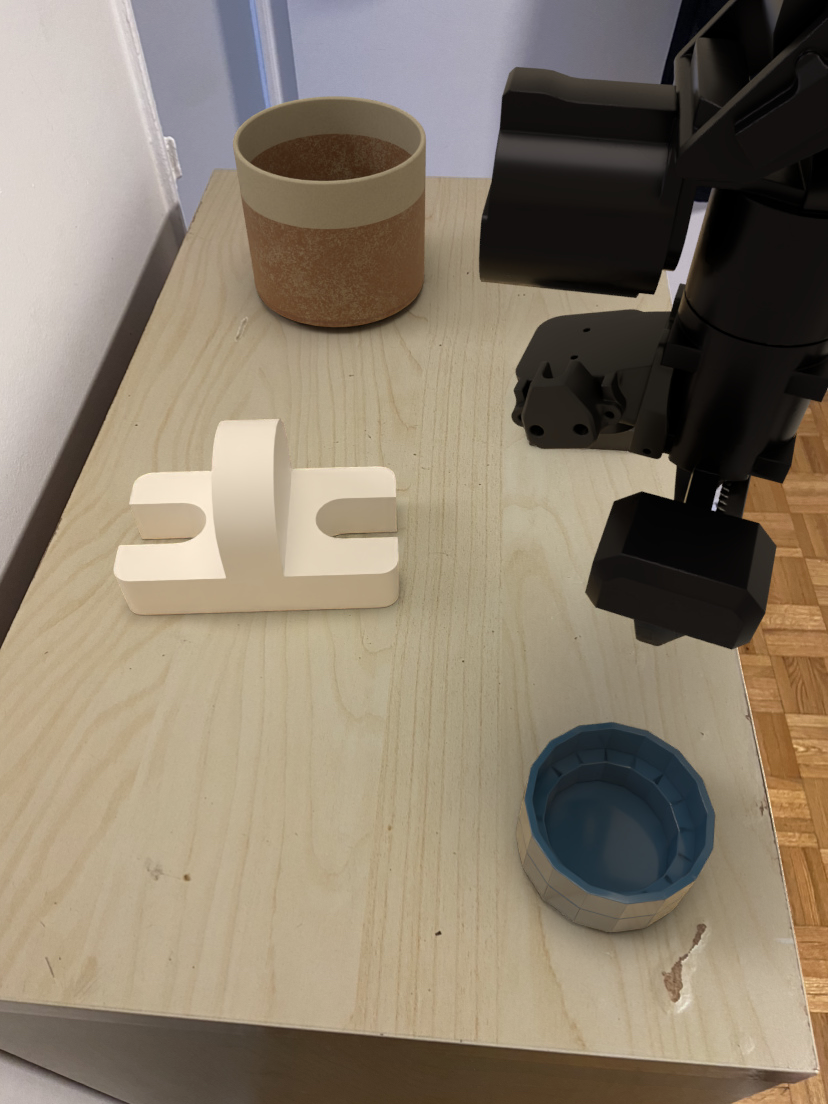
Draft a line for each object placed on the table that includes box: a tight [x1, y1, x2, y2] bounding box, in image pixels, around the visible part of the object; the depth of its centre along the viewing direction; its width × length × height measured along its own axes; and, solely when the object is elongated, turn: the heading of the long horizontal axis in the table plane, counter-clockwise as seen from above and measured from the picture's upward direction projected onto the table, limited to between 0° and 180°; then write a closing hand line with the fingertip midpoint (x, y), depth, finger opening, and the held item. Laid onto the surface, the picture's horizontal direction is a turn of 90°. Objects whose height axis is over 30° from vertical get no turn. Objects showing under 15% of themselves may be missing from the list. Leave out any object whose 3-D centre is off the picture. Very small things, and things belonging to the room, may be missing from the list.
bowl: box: [515, 721, 716, 933], centre depth 43 cm, size 9×9×5 cm
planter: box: [232, 95, 427, 328], centre depth 74 cm, size 16×16×14 cm
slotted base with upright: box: [112, 418, 400, 616], centre depth 54 cm, size 10×18×11 cm, turn 92°
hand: (666, 570), depth 42 cm, fingers open, 9 cm apart
